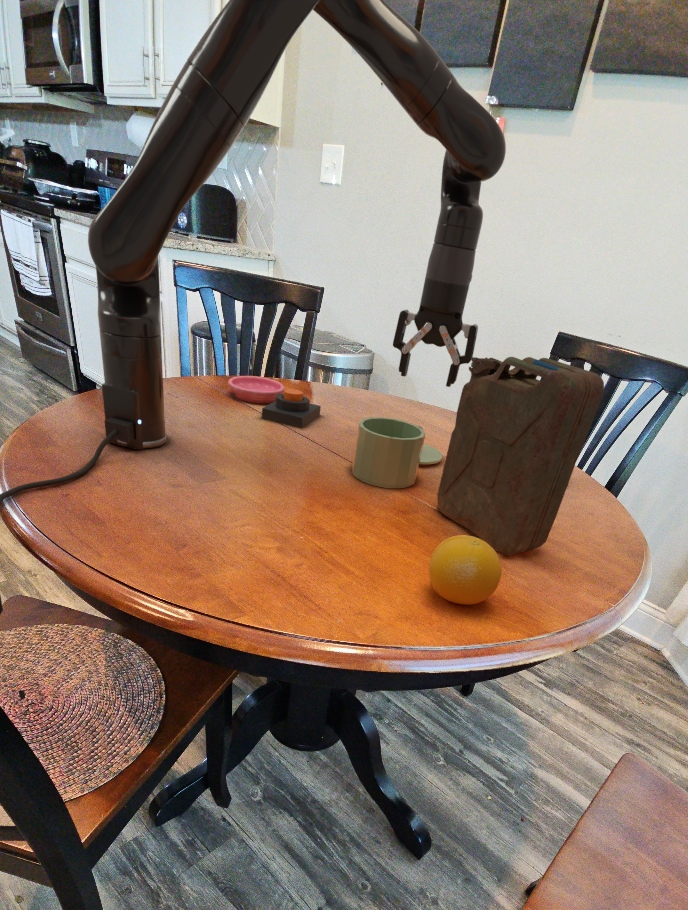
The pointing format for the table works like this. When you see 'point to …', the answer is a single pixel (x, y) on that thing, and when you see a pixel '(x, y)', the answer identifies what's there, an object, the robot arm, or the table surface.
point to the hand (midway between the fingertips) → (426, 380)
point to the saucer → (255, 389)
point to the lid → (430, 454)
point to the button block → (291, 411)
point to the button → (293, 395)
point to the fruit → (464, 569)
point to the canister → (516, 448)
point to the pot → (387, 452)
